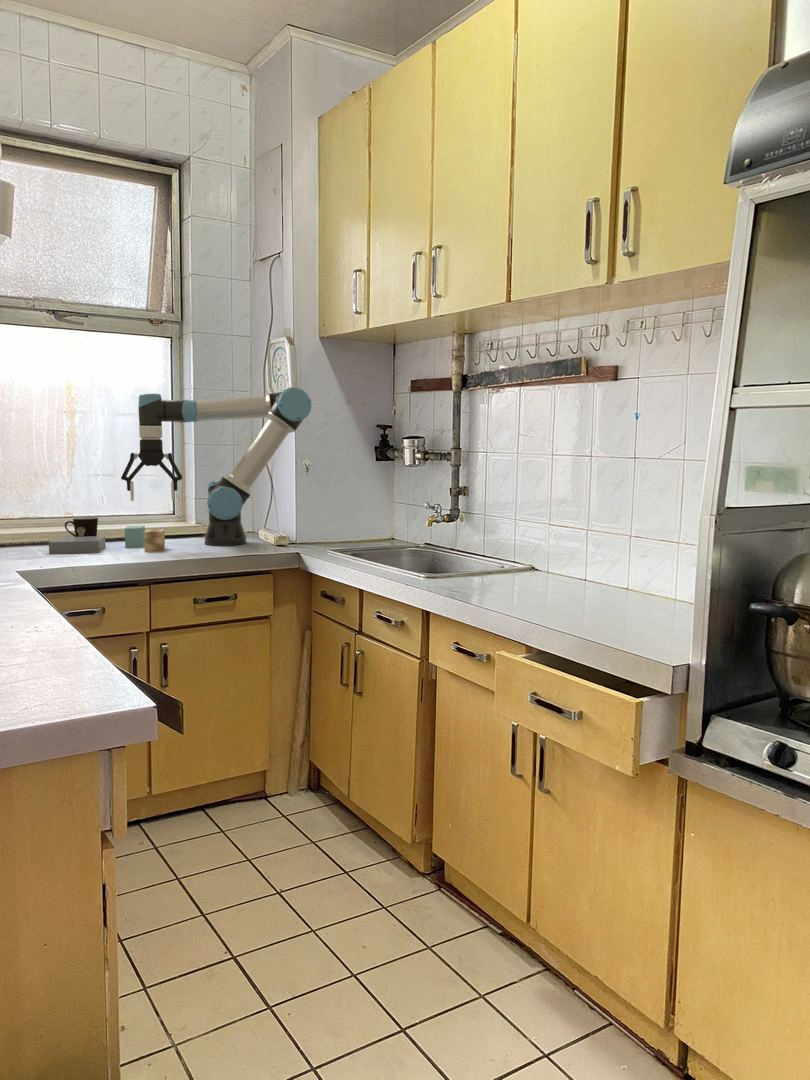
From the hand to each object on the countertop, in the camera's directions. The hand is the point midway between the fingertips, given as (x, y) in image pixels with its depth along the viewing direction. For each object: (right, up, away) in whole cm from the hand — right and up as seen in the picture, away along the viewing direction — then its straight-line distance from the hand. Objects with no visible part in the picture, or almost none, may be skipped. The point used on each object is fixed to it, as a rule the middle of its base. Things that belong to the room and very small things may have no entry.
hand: (152, 500), depth 287 cm
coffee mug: (-30, -16, +14) cm, 36 cm away
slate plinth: (-26, -17, 0) cm, 31 cm away
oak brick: (0, -17, +2) cm, 18 cm away
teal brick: (-10, -16, +12) cm, 23 cm away
